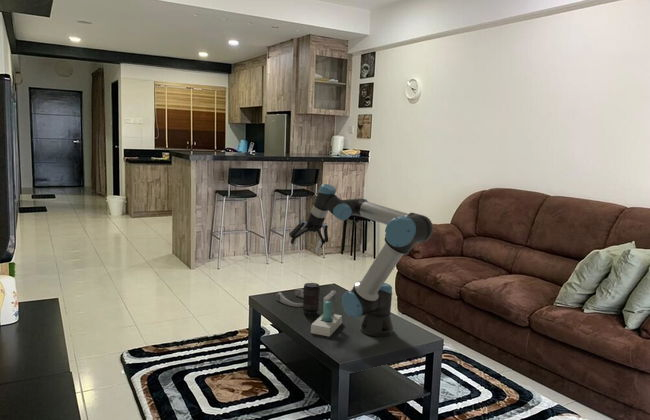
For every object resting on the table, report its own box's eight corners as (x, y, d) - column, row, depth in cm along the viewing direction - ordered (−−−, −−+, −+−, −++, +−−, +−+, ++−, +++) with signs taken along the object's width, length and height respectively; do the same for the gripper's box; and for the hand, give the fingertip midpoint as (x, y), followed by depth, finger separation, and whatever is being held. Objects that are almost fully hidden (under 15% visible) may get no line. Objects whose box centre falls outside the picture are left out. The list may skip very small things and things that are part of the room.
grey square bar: (336, 293, 239) (336, 290, 238) (327, 301, 226) (327, 298, 226) (331, 293, 239) (331, 290, 239) (322, 300, 227) (322, 297, 227)
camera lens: (319, 311, 256) (320, 283, 254) (317, 316, 248) (319, 287, 246) (303, 309, 256) (305, 281, 254) (301, 315, 248) (302, 286, 246)
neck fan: (320, 303, 269) (320, 294, 268) (296, 309, 257) (296, 300, 256) (298, 295, 281) (298, 286, 281) (274, 300, 270) (275, 291, 269)
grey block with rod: (341, 323, 240) (343, 295, 238) (329, 336, 224) (331, 306, 222) (324, 320, 243) (325, 292, 241) (310, 332, 226) (312, 302, 224)
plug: (333, 323, 235) (335, 301, 233) (330, 327, 230) (331, 304, 228) (323, 322, 236) (324, 299, 235) (319, 325, 232) (321, 302, 230)
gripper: (338, 214, 247) (324, 249, 255) (292, 206, 236) (278, 243, 245) (343, 222, 241) (328, 257, 249) (296, 214, 230) (282, 252, 239)
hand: (304, 250), depth 247 cm, fingers open, 13 cm apart
